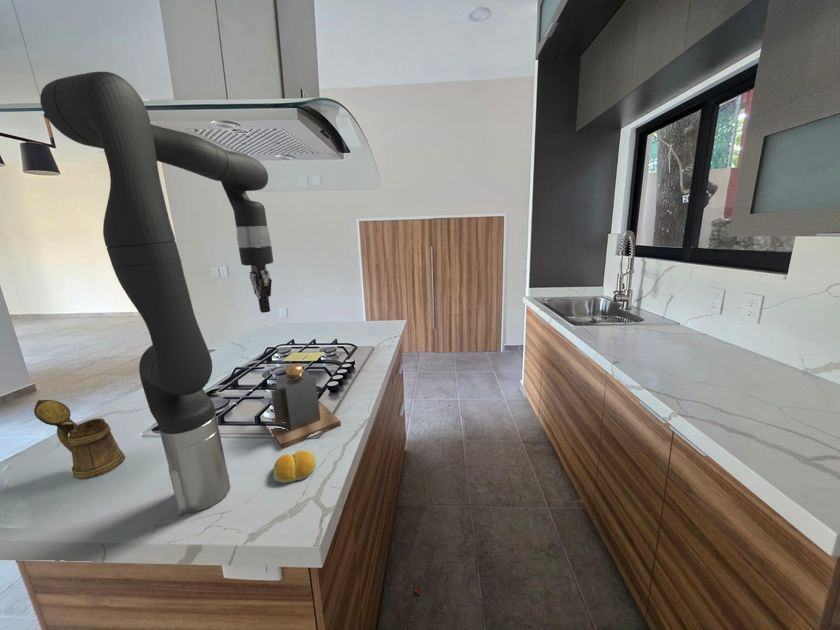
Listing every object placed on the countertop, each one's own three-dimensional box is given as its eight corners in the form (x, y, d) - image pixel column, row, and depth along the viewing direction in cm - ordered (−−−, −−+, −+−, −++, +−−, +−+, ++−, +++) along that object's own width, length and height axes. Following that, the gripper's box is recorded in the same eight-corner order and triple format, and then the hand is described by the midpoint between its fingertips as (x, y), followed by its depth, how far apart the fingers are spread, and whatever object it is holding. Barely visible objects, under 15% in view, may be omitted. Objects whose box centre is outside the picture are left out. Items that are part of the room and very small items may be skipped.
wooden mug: (78, 456, 85) (56, 391, 81) (134, 453, 86) (116, 387, 81) (42, 482, 77) (15, 410, 72) (104, 478, 77) (82, 406, 73)
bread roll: (318, 476, 75) (316, 460, 74) (274, 489, 72) (271, 473, 71) (314, 454, 83) (312, 440, 82) (274, 465, 80) (272, 450, 79)
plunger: (293, 422, 91) (286, 373, 87) (286, 414, 96) (279, 366, 92) (315, 414, 94) (309, 366, 91) (307, 406, 99) (301, 360, 96)
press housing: (282, 434, 89) (275, 390, 85) (273, 422, 95) (266, 380, 92) (320, 420, 95) (315, 378, 92) (309, 409, 101) (304, 369, 98)
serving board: (281, 449, 85) (280, 444, 84) (264, 423, 97) (263, 418, 97) (340, 425, 94) (340, 420, 94) (318, 404, 107) (317, 399, 106)
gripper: (233, 245, 89) (244, 310, 93) (244, 246, 79) (256, 319, 83) (264, 244, 93) (273, 305, 98) (277, 244, 83) (287, 313, 87)
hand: (265, 311), depth 90 cm, fingers closed
